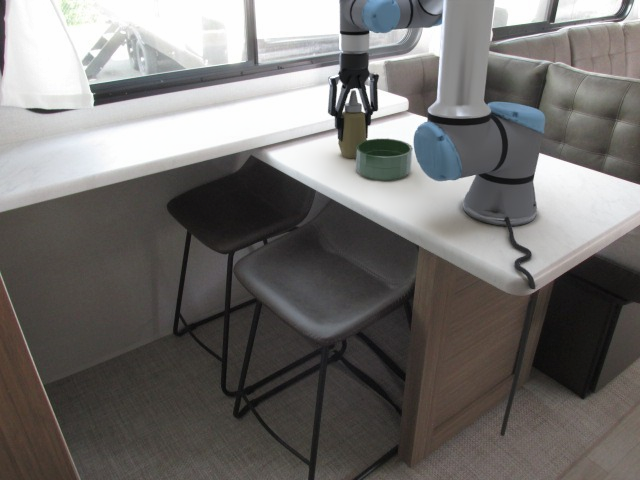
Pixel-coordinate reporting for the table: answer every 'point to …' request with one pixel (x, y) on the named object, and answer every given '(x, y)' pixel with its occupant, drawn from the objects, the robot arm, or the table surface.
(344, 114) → the squeeze bottle
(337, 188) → the table surface
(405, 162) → the bowl
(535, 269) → the table surface
